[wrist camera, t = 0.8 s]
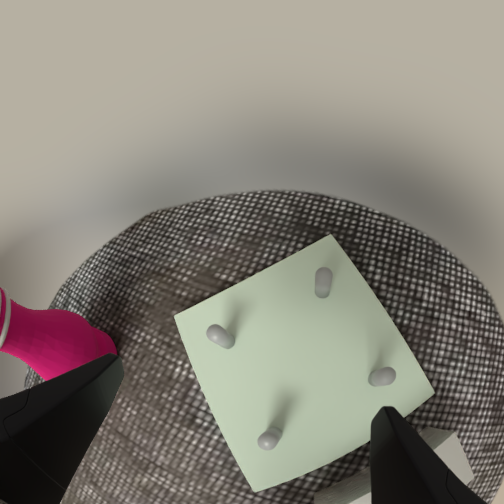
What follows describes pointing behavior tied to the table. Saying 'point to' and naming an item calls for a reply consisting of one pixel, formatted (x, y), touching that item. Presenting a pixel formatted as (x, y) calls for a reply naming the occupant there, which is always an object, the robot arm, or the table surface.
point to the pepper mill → (49, 338)
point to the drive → (359, 485)
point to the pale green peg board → (299, 363)
